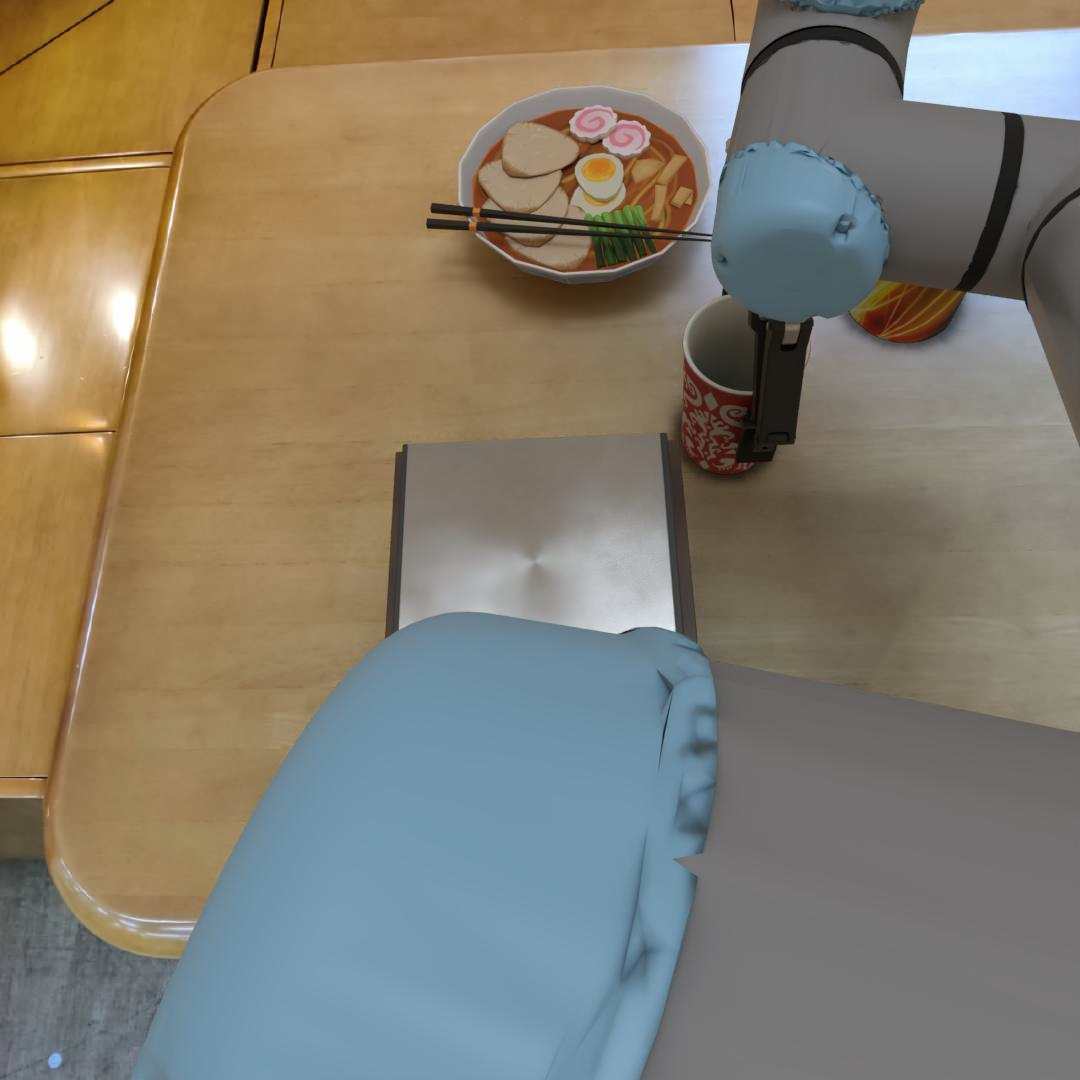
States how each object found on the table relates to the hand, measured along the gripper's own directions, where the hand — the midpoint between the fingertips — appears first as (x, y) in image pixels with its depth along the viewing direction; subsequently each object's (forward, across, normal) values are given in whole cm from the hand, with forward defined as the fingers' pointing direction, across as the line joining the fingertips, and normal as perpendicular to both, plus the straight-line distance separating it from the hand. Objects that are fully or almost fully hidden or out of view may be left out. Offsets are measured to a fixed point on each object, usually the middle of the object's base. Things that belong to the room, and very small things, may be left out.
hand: (743, 384), depth 74 cm
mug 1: (+6, 0, 0) cm, 6 cm away
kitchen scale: (-13, +23, -16) cm, 31 cm away
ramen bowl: (+6, -22, -12) cm, 26 cm away
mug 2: (+6, -12, +14) cm, 19 cm away
